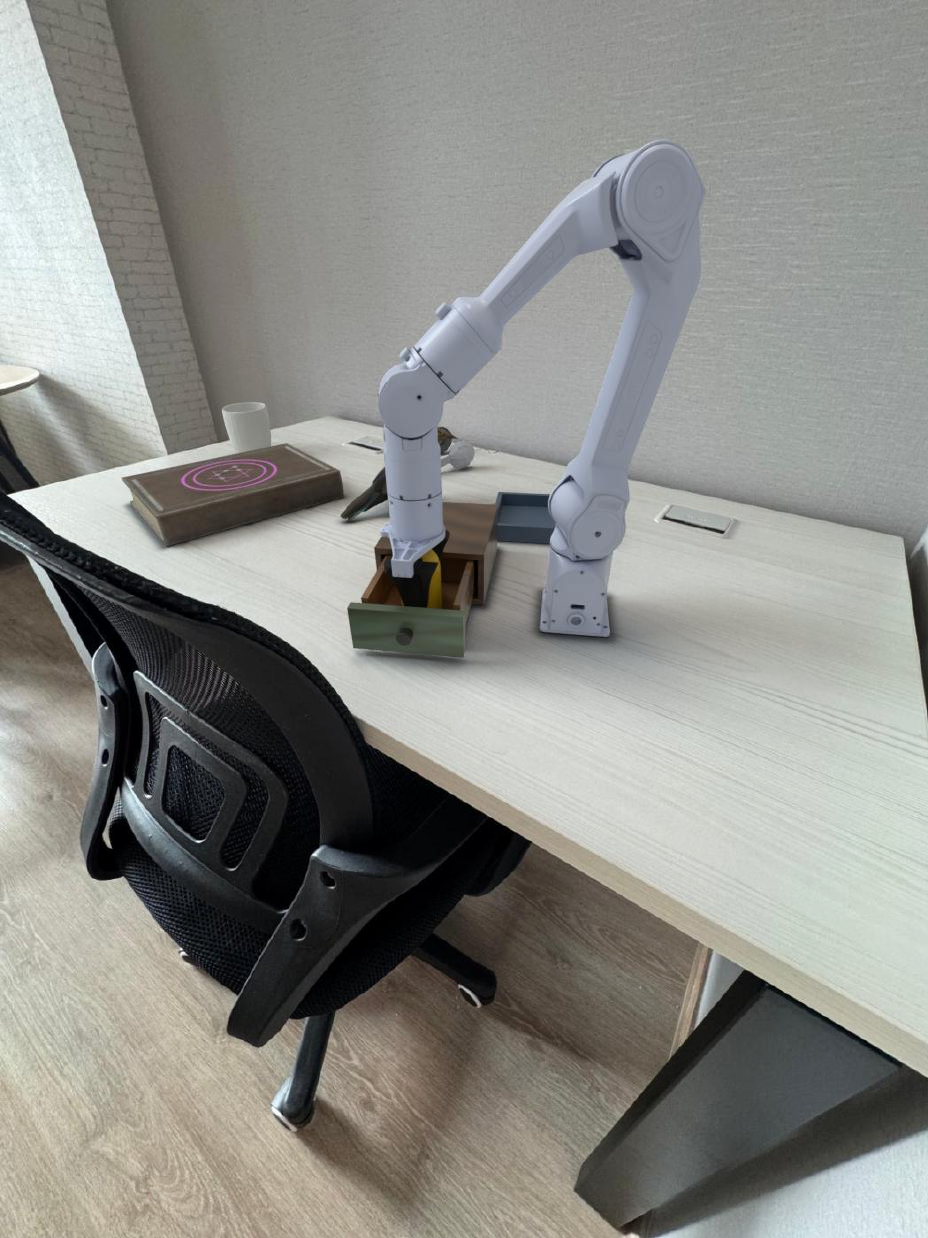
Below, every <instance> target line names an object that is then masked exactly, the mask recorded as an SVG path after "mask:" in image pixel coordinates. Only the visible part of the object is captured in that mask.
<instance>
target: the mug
mask: <svg viewBox="0 0 928 1238" xmlns="http://www.w3.org/2000/svg"><path fill="white" fill-rule="evenodd" d="M221 412H222V414H221V415H222V418H223V421H224V426H225V429H226V433H227V436H228V439H229V441H230V443H231V445H232V448H233V449H234V452H235V454H237V453H242V452H246V451H251V450H256V449H261V448H265V447H270V446H272V431H271V430H272V429H271V423H270V417H269V412H268V409H267V406H266V404H265V403H262V402H256V401H255V402H254V401H251V402H238V403H232V404H231V403H230V404H228V405H225V406H223V407H222V408H221Z"/></svg>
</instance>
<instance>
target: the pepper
mask: <svg viewBox="0 0 928 1238" xmlns="http://www.w3.org/2000/svg"><path fill="white" fill-rule="evenodd" d="M421 558H423V561H424V562H438V566H437V568H436V570H435V572H434V574H433V576H432V579H431V583H430V589H429V599H428V606H427V608H433V609H442V587H441V565H440V561H439V558H438V556H437V554H436V553H435V552H434V551H433V550H432V549H431V550H429V551H428V552H427V553H425V554H424V555H423V556H421V557H420V559H421ZM401 605H402V606H404V605H403V602H402V599H401Z"/></svg>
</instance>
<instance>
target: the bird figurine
mask: <svg viewBox="0 0 928 1238" xmlns="http://www.w3.org/2000/svg"><path fill="white" fill-rule="evenodd" d="M438 427H439V426H437V434H438V444H440V443H441V442H442V441H443V440H445V439H452V440H458V441H459V439H458V437H456V436H455V435H453V434H452V433H451V434H449V433H446V432H445V431H443V430H442V429H440V428H438ZM371 483H372V484H371V485H370V486H369V487H368V488H367V489H365V491H364V492H362V493H361V494H360V495H359V496H357V497H355V498H354V499H353V500H352V501H351V502H350V503H349V504H348V505H347V506H346V508H345V509H344V510H343V511H342V512H341V513H340V515H339V517H340V518H341V519H344V520H346V522H347V523H348V522H351V521H353V520H354V519H355V518H356V517H357V516H359V515H361V514H362V513H366V512H368V511H369V510H371V509H373V508H374V507H376V506H378V505H380V504H383V503H385V502H386V501H388V493H387V484H386V473H385V466H383V467H382V469H380V471H379V472H378V473H377V474H376V476H375V477H374V479H373V480H372V482H371Z"/></svg>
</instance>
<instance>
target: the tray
mask: <svg viewBox="0 0 928 1238" xmlns="http://www.w3.org/2000/svg"><path fill="white" fill-rule="evenodd" d="M550 494H551V493H535V492H534V493H532V492H514V491H513V492H511V491H498V493H497V494H496V495H497V496H496V499H495V502H494V504H498V530H497V542H514V543H532V544H548V545H550V538H551V536H552V534H553V532H554V530H555V526H556V522H555V521H554V520H553V519H552V517H551V516H550V513H549V510H548V499H549V496H550Z"/></svg>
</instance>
